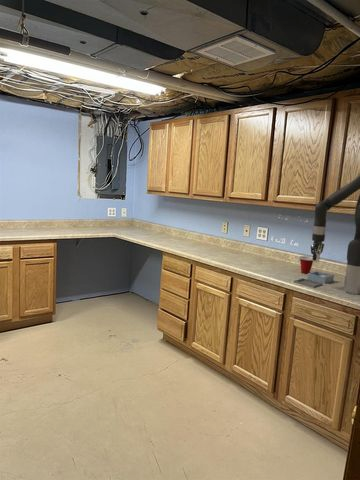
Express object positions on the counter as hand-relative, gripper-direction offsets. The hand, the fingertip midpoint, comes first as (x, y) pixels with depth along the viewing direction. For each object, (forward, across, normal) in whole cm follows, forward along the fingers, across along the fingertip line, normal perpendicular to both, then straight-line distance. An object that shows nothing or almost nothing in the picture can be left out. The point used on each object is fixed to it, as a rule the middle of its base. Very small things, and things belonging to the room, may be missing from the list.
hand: (315, 259), depth 234 cm
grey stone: (+1, 0, 0) cm, 1 cm away
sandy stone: (+15, +17, +1) cm, 22 cm away
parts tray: (+17, 0, +4) cm, 17 cm away
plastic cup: (+17, +28, +21) cm, 39 cm away
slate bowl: (+17, +17, +4) cm, 24 cm away
